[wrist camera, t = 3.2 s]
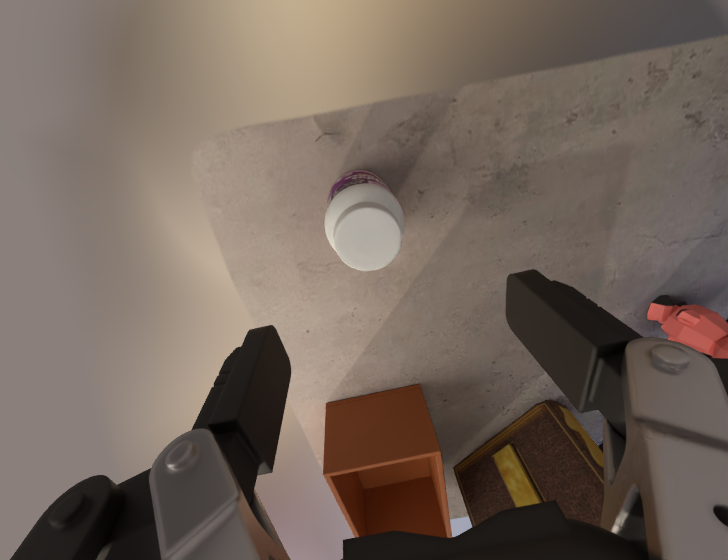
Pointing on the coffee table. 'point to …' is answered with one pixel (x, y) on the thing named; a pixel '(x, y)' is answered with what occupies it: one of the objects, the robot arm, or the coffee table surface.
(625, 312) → the coffee table surface
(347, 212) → the pill bottle
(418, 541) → the robot arm
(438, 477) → the orange open bin
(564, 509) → the book
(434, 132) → the coffee table surface
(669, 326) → the cat figurine
